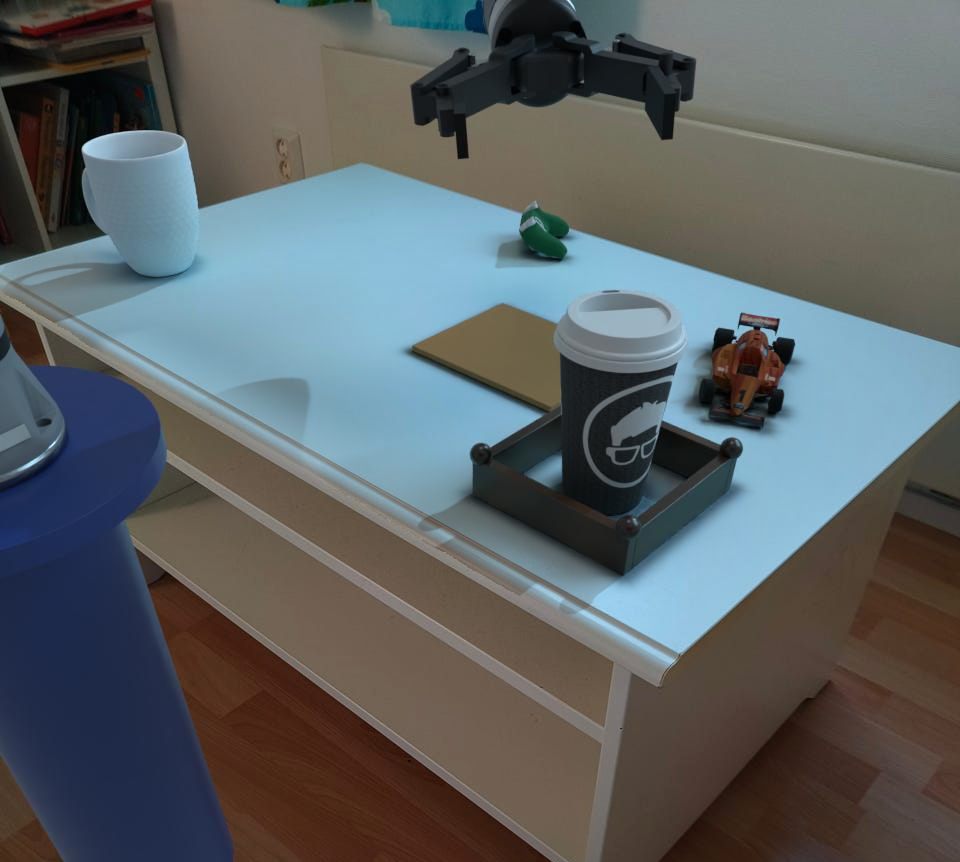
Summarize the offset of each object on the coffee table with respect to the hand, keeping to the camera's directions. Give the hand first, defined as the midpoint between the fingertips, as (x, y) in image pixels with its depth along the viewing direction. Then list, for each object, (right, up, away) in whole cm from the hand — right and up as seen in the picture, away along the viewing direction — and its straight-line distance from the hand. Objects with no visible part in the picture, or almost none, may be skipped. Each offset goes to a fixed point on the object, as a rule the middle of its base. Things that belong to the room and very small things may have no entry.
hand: (565, 127), depth 58 cm
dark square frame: (+4, -22, +14) cm, 26 cm away
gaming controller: (+2, +15, +52) cm, 55 cm away
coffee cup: (+4, -22, +14) cm, 26 cm away
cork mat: (-1, -5, +31) cm, 32 cm away
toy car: (+20, -9, +28) cm, 35 cm away
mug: (-44, +11, +47) cm, 66 cm away
